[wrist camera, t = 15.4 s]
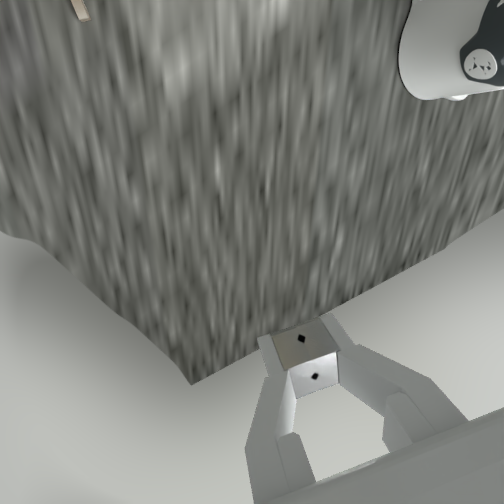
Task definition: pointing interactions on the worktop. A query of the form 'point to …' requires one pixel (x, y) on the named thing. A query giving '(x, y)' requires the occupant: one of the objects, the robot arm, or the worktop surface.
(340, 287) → the worktop surface
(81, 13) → the tunnel
